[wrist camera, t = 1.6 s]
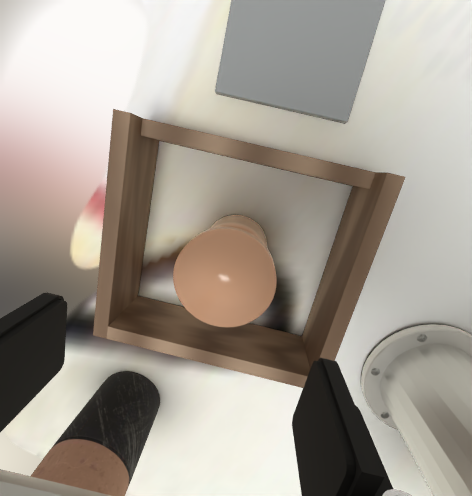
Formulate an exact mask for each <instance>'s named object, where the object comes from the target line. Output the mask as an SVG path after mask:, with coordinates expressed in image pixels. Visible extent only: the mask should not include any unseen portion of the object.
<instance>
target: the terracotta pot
mask: <svg viewBox="0 0 472 496" xmlns="http://www.w3.org/2000/svg"><path fill="white" fill-rule="evenodd" d="M173 281H174V287H175V290H176V294H177V296H178V298H179V300H180V301H181V303H182V305H183V306H184V307H185V308H186V310H187V311H188V312H190V313H191V314H192V315H193V316H194V317H196V318H197V319H199V320H201V321H203V322H205V323H207V324H210V325H213V326H218V327H236V326H241V325H244V324H247V323H249V322H251V321H253V320H255V319H256V318H258V317H259V316H260V315H262V314H263V313H264V311H265V310H266V309H267V308H268V306H269V305H270V303H271V301H272V300H273V297H274V294H275V290H276V271H275V265H274V261H273V259H272V256H271V254H270V252H269V250H268V248H267V239H266V236H265V233H264V231H263V229H262V228H261V227H260V225H259V224H258V223H256V222H255V221H254V220H252V219H251V218H249V217H246V216H243V215H229V216H225V217H223V218H221V219H219V220H217V221H216V222H215V223H214V224H213V225H212V226H211V227H210V228H209V229H208V230H206V231H204V232H202V233H200V234H198V235H197V236H195V237H194V238H193V239H192V240H191V241H190V242H189V243H188V244H187V245H186V246H185V247H184V248H183V250H182V251H181V252H180V254H179V256H178V258H177V260H176V263H175V267H174V273H173Z"/></svg>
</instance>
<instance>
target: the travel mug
mask: <svg viewBox="0 0 472 496" xmlns="http://www.w3.org/2000/svg"><path fill="white" fill-rule="evenodd" d="M159 405H160V397H159V393H158V391H157V389H156V387H155V386H154V384H153V383H152V382H151V381H150V380H148V379H147V378H146V377H144V376H142V375H140V374H137V373H134V372H119V373H116V374H113V375H112V376H110V377H109V378H108V379H107V380H106V381H105V382H104V383H103V384H102V385H101V387H100V388H99V389H98V390H97V391H96V393H95V394H94V395H93V397H92V398H91V399H90V400H89V402H88V403H87V404H86V405H85V407H84V408H83V409H82V410H81V412H80V413H79V414H78V415H77V417H76V418H75V419H74V420H73V422H72V423H71V424H70V425H69V427H68V428H67V429H66V430H65V432H64V433H63V434H62V435H61V437H60V438H59V439H58V440H57V442H56V443H55V444H54V446H53V447H52V448H51V450H50V451H49V452H48V453H47V455H46V456H45V457H44V459H43V460H42V462H41V463H40V464H39V465H38V467H37V468H36V470H35V471H34V472H33V474H32V475H31V477H35V478H39V479H44V480H48V481H52V482H57V483H61V484H65V485H69V486H73V487H78V488H82V489H86V490H90V491H94V492H98V493H103V494H107V495H111V496H125V494H126V491H127V489H128V486H129V484H130V481H131V479H132V476H133V474H134V471H135V468H136V466H137V463H138V461H139V458H140V456H141V453H142V450H143V448H144V445H145V443H146V440H147V438H148V435H149V432H150V430H151V427H152V425H153V422H154V420H155V417H156V414H157V412H158V408H159Z"/></svg>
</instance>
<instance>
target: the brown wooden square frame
mask: <svg viewBox="0 0 472 496" xmlns="http://www.w3.org/2000/svg"><path fill="white" fill-rule="evenodd" d="M159 141H163V142H167V143H171V144H175V145H180V146H184V147H188V148H192V149H197V150H201V151H205V152H210V153H214V154H218V155H222V156H227V157H231V158H235V159H239V160H244V161H248V162H252V163H257V164H261V165H265V166H269V167H274V168H278V169H282V170H287V171H291V172H295V173H299V174H304V175H308V176H312V177H316V178H321V179H325V180H329V181H334V182H338V183H342V184H346V185H351V186H353V187H352V190H351V193H350V196H349V199H348V202H347V205H346V208H345V211H344V214H343V216H342V219H341V222H340V225H339V228H338V231H337V234H336V237H335V240H334V243H333V246H332V249H331V252H330V255H329V258H328V261H327V264H326V267H325V270H324V273H323V276H322V279H321V282H320V285H319V288H318V291H317V294H316V296H315V299H314V302H313V305H312V308H311V311H310V314H309V317H308V320H307V323H306V326H305V329H304V332H303V335H302V336H299V335H295V334H291V333H287V332H283V331H279V330H275V329H271V328H266V327H262V326H258V325H254V324H250V323H247V324H244V325H241V326H236V327H218V326H213V325H210V324H207V323H205V322H203V321H201V320H199V319H197V318H196V317H194V316H193V315H192V314H191V313H190V312H188V311H187V310H186V308H185V307H181V306H177V305H173V304H169V303H165V302H161V301H157V300H153V299H149V298H145V297H141V296H138V293H139V285H140V278H141V271H142V263H143V256H144V249H145V241H146V234H147V227H148V219H149V212H150V204H151V197H152V190H153V182H154V175H155V168H156V160H157V153H158V146H159ZM404 180H405V177H403V176H399V175H395V174H391V173H375V172H371V171H367V170H362V169H358V168H354V167H350V166H345V165H341V164H337V163H332V162H328V161H324V160H319V159H315V158H311V157H307V156H302V155H298V154H294V153H289V152H285V151H281V150H276V149H272V148H268V147H264V146H259V145H255V144H251V143H246V142H242V141H238V140H233V139H229V138H225V137H221V136H216V135H212V134H208V133H203V132H199V131H195V130H190V129H186V128H182V127H178V126H173V125H169V124H165V123H160V122H156V121H152V120H147V119H143V118H141V117H138V116H136V115H134V114H131V113H128V112H124V111H119V110H115V109H113V119H112V131H111V141H110V152H109V163H108V175H107V186H106V197H105V208H104V219H103V231H102V242H101V253H100V264H99V276H98V287H97V298H96V309H95V320H94V331H93V335H94V336H98V337H102V338H106V339H110V340H114V341H118V342H122V343H126V344H130V345H134V346H138V347H142V348H146V349H150V350H154V351H158V352H162V353H166V354H170V355H174V356H178V357H182V358H186V359H190V360H194V361H198V362H202V363H206V364H210V365H214V366H218V367H222V368H226V369H230V370H234V371H238V372H242V373H246V374H250V375H254V376H258V377H262V378H266V379H270V380H274V381H278V382H282V383H286V384H290V385H294V386H297V387H301V388H304V385H305V382H306V380H307V377H308V374H309V371H310V369H311V366H312V363H313V361H318V360H319V358H325V359H329V360H333V361H334V360H335V358H336V355H337V353H338V350H339V348H340V345H341V342H342V340H343V337H344V335H345V332H346V329H347V327H348V324H349V322H350V319H351V317H352V314H353V311H354V309H355V306H356V304H357V301H358V298H359V296H360V293H361V291H362V288H363V286H364V283H365V280H366V278H367V275H368V273H369V270H370V267H371V265H372V262H373V260H374V257H375V255H376V252H377V249H378V247H379V244H380V242H381V239H382V236H383V234H384V231H385V229H386V226H387V224H388V221H389V218H390V216H391V213H392V211H393V208H394V205H395V203H396V200H397V198H398V195H399V193H400V190H401V187H402V185H403V182H404Z"/></svg>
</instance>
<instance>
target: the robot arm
mask: <svg viewBox="0 0 472 496" xmlns="http://www.w3.org/2000/svg"><path fill="white" fill-rule="evenodd" d="M66 318H67V302H66V301H64V299H63V297H62V296H59V295H55V294H51V293H43V294H41V295H39V296H38V297H36V298H34V299H33V300H31V301H29V302H28V303H26V304H24V305H23V306H21V307H19V308H18V309H16V310H14V311H13V312H11V313H9V314H7V315H6V316H4V317H2V318H1V319H0V432H1V431H2V430H3V429H4V428H5V427H6V426H7V425H8V424H9V423H10V422H11V421H12V420H13V419H14V418H15V417H16V416H17V415H18V414H19V412H20V411H21V410H22V409H23V408H24V407H25V406H26V405H27V404H28V403H29V402H30V401H31V400H32V399H33V398H34V397H35V396H36V395H37V394H38V393H39V392H40V391H41V390H42V389H43V388H44V387H45V386H46V384H47V383H48V382H49V381H50V380H51V379H52V378H53V377H54V376H55V375H56V374H57V373H58V372H59V371H60V370H61V368H62V366H63V364H64V357H65V337H66ZM361 387H362V391H363V395H364V397H365V399H366V402H367V404H368V406H369V407H370V409H371V410H372V412H373V413H374V414H375V415H376V416H377V417H378V419H380V420H381V421H382V422H384V423H385V424H387V425H389V426H390V427H393V428H395V429H397V430H399V432H400V434H401V436H402V438H403V440H404V441H405V443H406V445H407V447H408V449H409V451H410V453H411V455H412V457H413V458H414V460H415V462H416V464H417V466H418V468H419V470H420V472H421V474H422V475H423V477H424V479H425V481H426V483H427V485H428V487H429V489H430V491H431V492H432V494H433V496H472V335H471V334H469V333H467V332H465V331H463V330H461V329H458V328H455V327H451V326H447V325H437V324H429V325H419V326H415V327H411V328H407V329H404V330H402V331H399V332H397V333H395V334H393V335H391V336H390V337H388V338H387V339H385V340H383V341H382V342H381V343H380V344H379V345H378V346H377V347H376V348H375V349H374V350H373V351H372V353H371V354H370V355H369V357H368V358H367V360H366V362H365V364H364V367H363V371H362V375H361ZM292 427H293V435H294V442H295V449H296V456H297V464H298V471H299V478H300V485H301V492H302V496H411V495H410V494H408V493H405V492H403V491H401V490H396V489H393V487H392V485H391V483H390V480H389V478H388V476H387V473H386V471H385V469H384V466H383V464H382V461H381V459H380V457H379V454H378V452H377V450H376V447H375V445H374V443H373V440H372V438H371V436H370V433H369V431H368V428H367V426H366V424H365V421H364V419H363V417H362V414H361V412H360V410H359V408H358V407H357V406H356V405H355V404H354V402H353V399H352V397H351V395H350V392H349V390H348V387H347V385H346V383H345V380H344V378H343V375H342V373H341V370H340V368H339V366H338V363H337V362H336V361H333V360H329V359H325V358H319V360H318V361H313V363H312V366H311V369H310V371H309V374H308V377H307V380H306V382H305V385H304V388H303V391H302V393H301V396H300V399H299V401H298V404H297V407H296V410H295V412H294V415H293V421H292ZM0 496H111V495H107V494H103V493H98V492H94V491H90V490H86V489H82V488H78V487H73V486H69V485H65V484H61V483H57V482H52V481H48V480H44V479H39V478H35V477H31V476H26V475H22V474H18V473H14V472H9V471H5V470H1V469H0Z"/></svg>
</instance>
